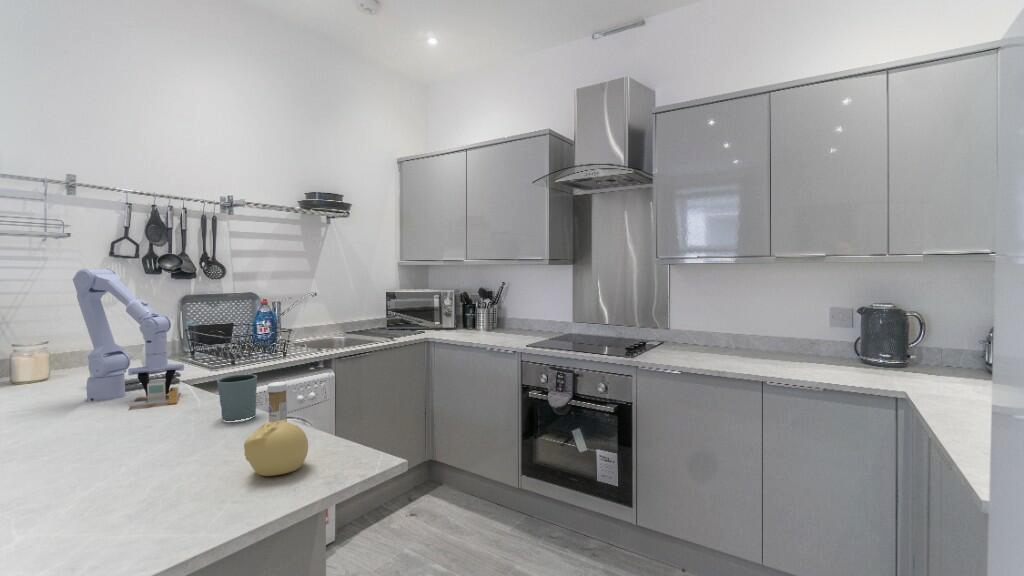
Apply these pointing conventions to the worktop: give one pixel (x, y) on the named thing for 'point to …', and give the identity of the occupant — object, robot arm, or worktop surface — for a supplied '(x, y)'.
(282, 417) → the sprinkles bottle
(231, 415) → the teal cup
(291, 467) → the sculpture
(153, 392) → the block
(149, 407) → the board
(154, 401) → the rail
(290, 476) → the worktop surface
